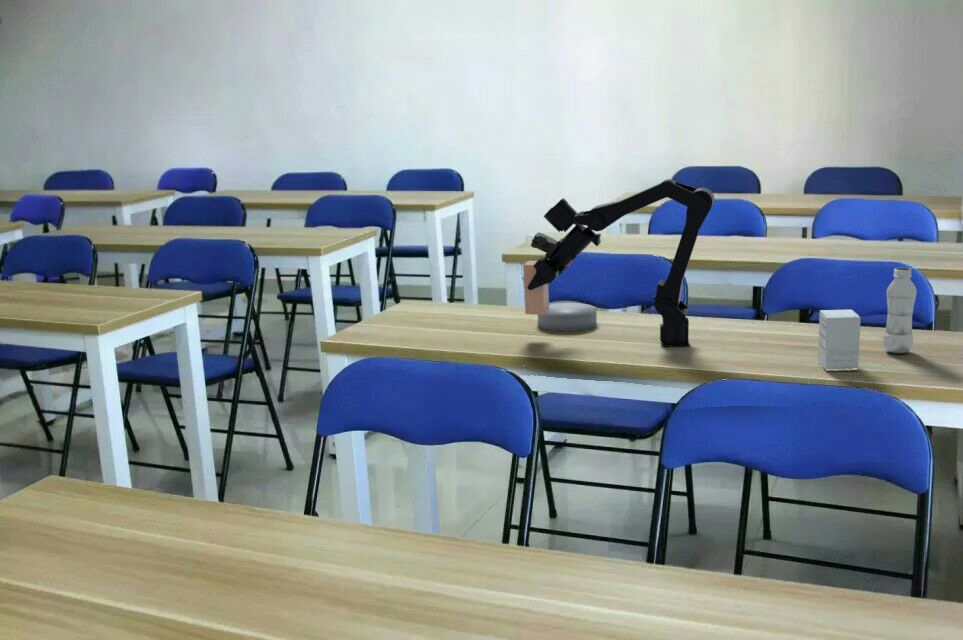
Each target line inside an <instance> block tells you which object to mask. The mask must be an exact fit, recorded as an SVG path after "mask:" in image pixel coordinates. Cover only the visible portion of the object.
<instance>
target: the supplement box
mask: <svg viewBox="0 0 963 640" xmlns="http://www.w3.org/2000/svg"><path fill="white" fill-rule="evenodd" d="M861 318H862V317H861V316H860V315H859V314H858V313H856V312H855V311H854V310H853V309H825V310H824V309H821V310H819V320H818V321H819V323H818V327H819V328H818V349H817V362H818V361H819V362H820V364H821V365H822V366H823V367H824V368H826V369H846V368H847V369H853V368H858V369H859V360H860V359H859V355H860V338H861V337H860V335H861ZM820 364H819V365H820Z"/></svg>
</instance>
